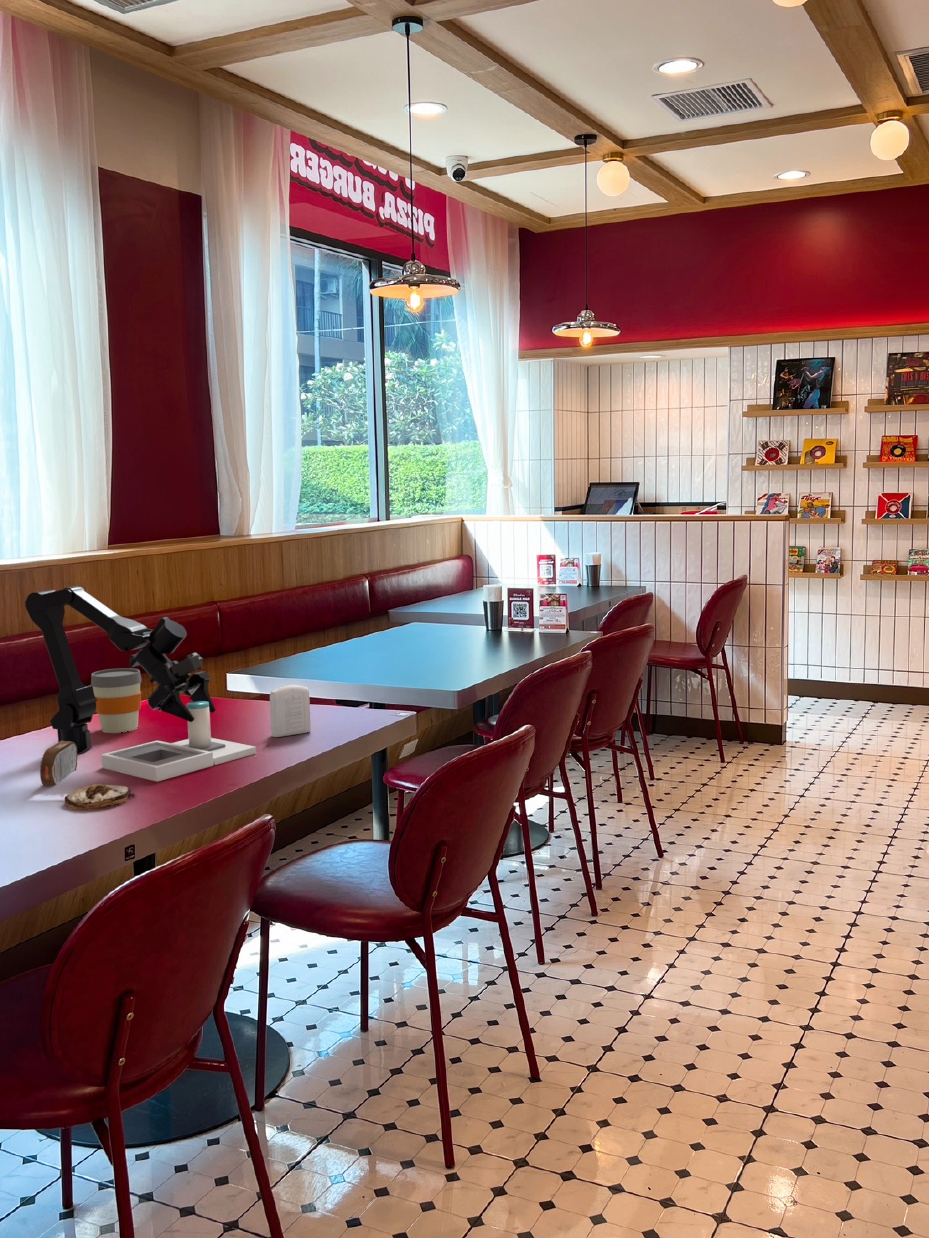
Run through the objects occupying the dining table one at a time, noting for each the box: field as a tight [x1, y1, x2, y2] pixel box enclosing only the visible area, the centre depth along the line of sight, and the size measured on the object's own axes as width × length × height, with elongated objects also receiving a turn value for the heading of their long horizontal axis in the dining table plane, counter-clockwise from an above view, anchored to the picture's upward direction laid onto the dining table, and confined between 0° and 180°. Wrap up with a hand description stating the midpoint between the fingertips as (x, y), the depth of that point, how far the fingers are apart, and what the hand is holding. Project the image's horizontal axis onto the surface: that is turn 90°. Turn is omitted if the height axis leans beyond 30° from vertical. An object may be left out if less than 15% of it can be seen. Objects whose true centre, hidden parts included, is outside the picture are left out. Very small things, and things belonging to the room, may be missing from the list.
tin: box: [39, 741, 78, 787], centre depth 239 cm, size 15×3×8 cm, turn 178°
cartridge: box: [186, 701, 212, 749], centre depth 255 cm, size 5×5×10 cm
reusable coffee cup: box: [90, 667, 143, 734], centre depth 287 cm, size 13×13×15 cm
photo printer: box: [269, 684, 312, 738], centre depth 277 cm, size 10×4×12 cm, turn 123°
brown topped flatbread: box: [64, 783, 131, 811], centre depth 225 cm, size 15×15×4 cm
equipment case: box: [100, 737, 257, 783], centre depth 251 cm, size 20×28×4 cm
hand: (203, 716), depth 254 cm, fingers open, 9 cm apart
